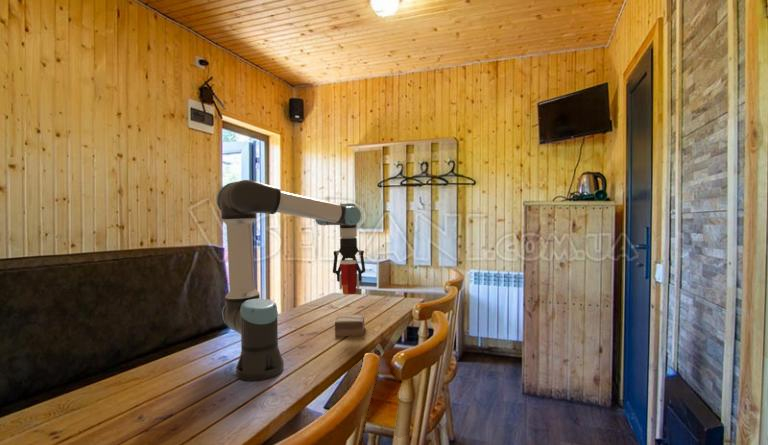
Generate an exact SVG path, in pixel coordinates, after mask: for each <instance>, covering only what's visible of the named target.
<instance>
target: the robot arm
mask: <svg viewBox="0 0 768 445" xmlns="http://www.w3.org/2000/svg"><path fill="white" fill-rule="evenodd" d="M216 205H217V207H218V209H219V210H220V212H221V214H220V215H221V221H222V222H223V223H224V224H225V225H226V239H227V240H226V242H227V244H226V245H227V261H228V262H227V263H228V266H227V267H228V281H229V282H228V284H229V287H228V288H229V291H228V292H227V294H226V295H225V297H224V299H225V304H224V306H223V307H222V311H221V315H222V320H223V322H224V324H225V325H226V326H227V327H228V328H229V329H230V330H232V331H234V332H237V334H240V342H241V344H240V347H241V350H240V351H241V352H240V355H239V358H238V360H237V361H238V362H237V365H236V369H235V375H236V377H237V378H238V379H239V380H242V381H247V382H253V381H254V382H255V381H262V380H268V379H270V378H274V377H276V376H278V375H280V374H282V373H283V371H284V368H285V363H284V359H283V356H282V353H281V351H280V348H279V342H278V341H279V338H278V337H279V334H278V333H279V331H278V324H279V323H278V317H279V316H278V315H279V312H278V306H277V303H276V302H275V301H273V300H271V299H268V298H261V295H260V294H261V293H260V292H259V290H257V289H256V284H255V262H254V243H253V242H254V241H253V223H254V222H255V221H256V220H257V214H267V215H268V214H269V215H275V214H277V213H280V214H285V215H289V216H296V217H302V218H307V219H311V220H315V223H316V224H317V225H319V226H324V227H325V226H339V237H340V239H339V244H340V245H339V250H334V251H333V263H332V264H333V267H332V273H333V274H335V275H336V281H337V283H339V290H342V278H341V264H339V266H337V265H338V257H339V254H340V255H341V260H345V259H353V260H356V263H357V262H358V259H357V257H356V255H357V253H358V255H359V258H360V263H361V266H360V265H359V263H357V264H356V268H357V285H356V290H359V289H360V282H361V281H362V275H363V273H366V264H365V260H364V259H365V258H364V253H365V251H364V250H363V249H358V239H357V237H358V233H357V232H358V229H357V228H358V225H357V224H358V223H360V221H361V218H362V213H361V210H360V209H359V208H358V207H357V205H356V204H355V203H351V202H350V203H349V202H347V203H344V202H343V203H339V204H338V203H334V202H329V201H326V200H322V199H321V200H320V199H317V198H312V197H308V196H303V195H299V194H296V193H295V194H294V193H290V192H286V191H283V190H281V188H280V187H278V186H274V185H270V184H266V183H263V182H259V181H255V180H250V179H244V180H239V181H234V182H232V181H231V182H229V183H226V185H224V186H223V187H221V188H220V189H219V191H218V193H217V195H216ZM337 267H338V268H337Z"/></svg>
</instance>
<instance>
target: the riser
mask: <svg viewBox="0 0 768 445" xmlns="http://www.w3.org/2000/svg"><path fill="white" fill-rule="evenodd" d="M364 331H365V314H338V315H337V317H336V320H334V336H335V337H359V336H360V337H361V336H364Z"/></svg>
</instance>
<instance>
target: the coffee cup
mask: <svg viewBox="0 0 768 445" xmlns="http://www.w3.org/2000/svg"><path fill="white" fill-rule="evenodd" d="M356 260H357V259H356ZM356 260H353V259H352V258H347V259H345V260H342V259H341V260H340V261H339V265H340V264H341V272H340V274H341V278H342V289H341V290H342V294H343V295H346V296H348V295H356V294H357V274H358V271H357V268H356V264H357V263H358V261H357V263H356ZM358 264H359V263H358Z"/></svg>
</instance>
